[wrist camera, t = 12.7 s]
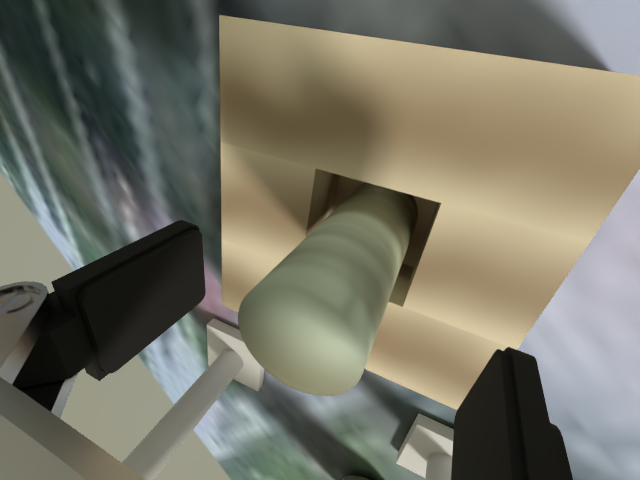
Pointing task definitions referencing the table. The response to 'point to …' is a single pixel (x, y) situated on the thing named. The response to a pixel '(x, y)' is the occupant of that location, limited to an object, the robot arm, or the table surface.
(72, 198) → the table surface
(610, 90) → the socket block
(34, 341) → the robot arm
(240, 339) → the two-post wooden stand
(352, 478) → the plastic bottle
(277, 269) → the peg
